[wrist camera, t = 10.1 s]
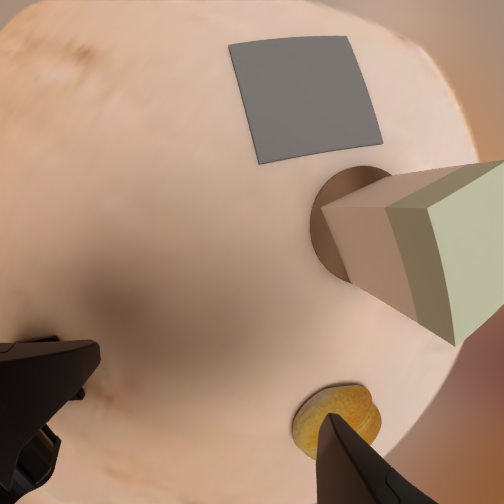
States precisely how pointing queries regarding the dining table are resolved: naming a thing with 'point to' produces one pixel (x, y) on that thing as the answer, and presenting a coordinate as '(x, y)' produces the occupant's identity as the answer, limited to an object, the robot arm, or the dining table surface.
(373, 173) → the disc
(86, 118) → the dining table surface
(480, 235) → the carton
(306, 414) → the bread roll
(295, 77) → the mat
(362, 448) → the robot arm
